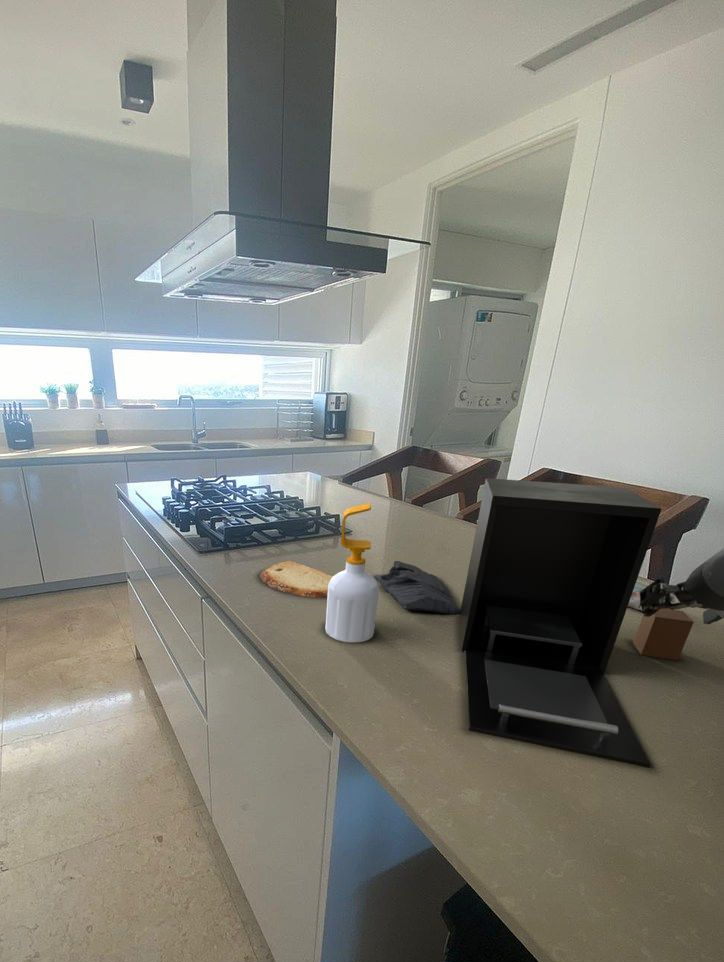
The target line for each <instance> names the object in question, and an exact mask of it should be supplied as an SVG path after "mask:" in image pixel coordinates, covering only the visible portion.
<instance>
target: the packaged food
mask: <svg viewBox="0 0 724 962" xmlns="http://www.w3.org/2000/svg"><path fill="white" fill-rule="evenodd" d="M647 586H648V585H646V584H644V583H641V582H638V581H636V584H635V587H634V590H633V593H632V595H631V598H630V601H629V604H628V607H627V608H629V609H633V610H636V611H642V607H641V606H640V591H641V590H643V589H644V588H646V587H647ZM664 602H665V598H661V599H660V603H664Z"/></svg>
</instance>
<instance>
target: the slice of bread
mask: <svg viewBox="0 0 724 962" xmlns="http://www.w3.org/2000/svg"><path fill="white" fill-rule="evenodd" d="M259 577H260V579H261V580H262V582H263V583H264V584H265V585H267V586H268V587H270V588H273V589H275V590H278V591H281V592H284V593H288V594H293V595H296V596H302V597H309V598H328V584H329V582H330V580H331V578H332V577H333V576H332V575H329V574H328V573H326V572H324V571H321V570H319V569H315V568H312V567H309V566H307V565H303V564H301V563H298V562H294V561H293V560H288V561H283V562H278V563H275V564H274V565H271V566H269V567H268V568H266V569H265V570H263V571H261V573H260V574H259Z"/></svg>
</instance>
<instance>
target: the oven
mask: <svg viewBox="0 0 724 962" xmlns="http://www.w3.org/2000/svg"><path fill="white" fill-rule="evenodd" d="M661 512H662V508H661V507H659V506H658V505H656V504H655V503H653V502H651V501H649V500H647V499H646V498H644V497H642V496H641V495H639V494H637V493H636V492H634V491H632V490H631V489H629V488H628V487H624V486H623V487H621V486H607V485H594V484H593V485H592V484H579V483H562V482H550V481H533V480H521V479H520V480H519V479H503V478H491V477H490V478H488V477H486V478H485V480H484V487H483V492H482V497H481V502H480V507H479V513H478V517H477V523H476V527H475V533H474V538H473V544H472V549H471V553H470V559H469V564H468V569H467V575H466V578H465V579H466V581H465V584H464V589H463V595H462V600H461V605H460V609H461V610H460V613H459V629H460V630H459V631H460V651H461V652H462V653H464V670H465V687H466V688H465V689H466V705H467V722H468V723H467V724H468V731H469V732H474V733H478V734H483V735H488V736H493V737H498V738H503V739H507V740H513V741H516V742H517V741H518V742H522V743H527V744H531V745H536V746H542V747H545V748H552V749H556V750H560V751H566V752H571V753H576V754H580V755H585V756H590V757H595V758H600V759H604V760H609V761H613V762H619V763H625V764H629V765H634V766H639V767H644V768H649V769H650V767H651V762H650V759H649V758H648V756H647V754H646V752H645V750H644V749H643V746H642V745H641V743H640V741H639V739H638V737H637V736H636V734H635V732H634V730H633V728H632V726H631V724H630V723H629V720H628V719H627V716H626V714H625V712H624V711H623V709H622V707H621V705H620V704H619V701H618V699H617V697H616V696H615V694H614V692H613V690H612V688H611V687H610V685H609V683H608V680H607V679H606V677H605V672H606V670H607V667H608V663H609V661H610V658H611V655H612V653H613V651H614V648H615V644H616V641H617V638H618V635H619V632H620V630H621V627H622V624H623V621H624V618H625V615H626V613H627V609H628V608H629V607H628V604H629V601H630V598H631V595H632V593H633V590H634V587H635V584H636V582H638V578H639V575H640V572H641V569H642V567H643V564H644V561H645V558H646V556H647V552H648V549H649V548H650V547H649V546H650V543H651V540H652V538H653V535H654V532H655V529H656V527H657V523H658V521H659V518H660V515H661ZM486 605H488V606H496V607H503V608H510V609H518V610H525V611H532V612H540V613H547V614H554V615H562V616H568V617H569V619H570V621H571V623H572V625H573V627H574V629H575V631H576V633H577V635H578V637H579V639H580V641H581V643H582V647H580V648H579V651H578V654H577V657H576V660H575V663H574V664H569V662H568V660H569V657H570V653H571V650H572V647H573V646H570V645H563V644H557V643H550V642H544V641H537V640H530V639H524V638H517V637H511V636H504V635H497V634H496V636H495V640H494V644H493V649H492V651H488V650H487V645H488V641H489V637H490V631H489V625H488V626H484V625H483V623H484V619H485V614H486Z"/></svg>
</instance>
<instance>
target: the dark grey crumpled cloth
mask: <svg viewBox="0 0 724 962" xmlns="http://www.w3.org/2000/svg"><path fill="white" fill-rule="evenodd" d="M374 579H375V580H376V581H377V582H378V583H379V585H380V586H381V587H382V588H383V590H385V591H386V592H387V593H389V594H390V597H392V598H393V599H394V600H395V601H396V602H397V604H399V605H400V606H401V607H403V608H404V609H406V610H407V611H418V612H419V611H420V612H430V613H436V614H446V615H458V614H460V610H461V607H459V606H458V605H457V603H456V601H455V600H454V598H453V596H452V595H451V593H450V592H449V591H448V589H447V588H446V586H445V585H444V584H443V583H442V581H441V580H440V579H439V578H438V576H436V575H434V574H431V573H428V572H426V571H424V570H422V569H421V568H420V567H418V566H416V565H413V564H410V563H405V562H403V561H401V560H395V561H393V565H392V566H391V567H390V569H389V572H388V573H387V574H380V575H375V576H374Z"/></svg>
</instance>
